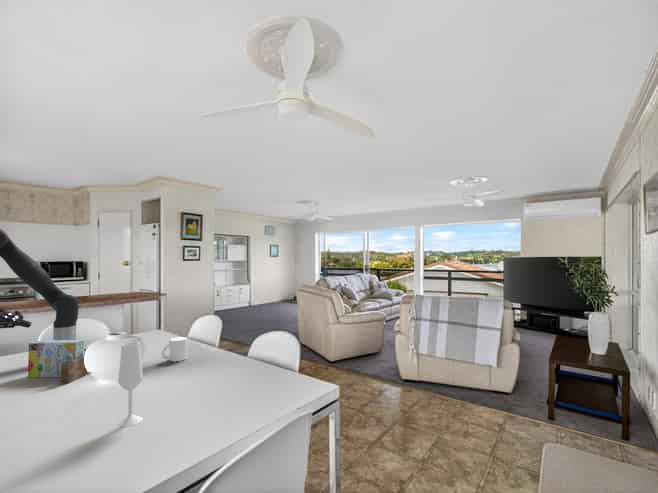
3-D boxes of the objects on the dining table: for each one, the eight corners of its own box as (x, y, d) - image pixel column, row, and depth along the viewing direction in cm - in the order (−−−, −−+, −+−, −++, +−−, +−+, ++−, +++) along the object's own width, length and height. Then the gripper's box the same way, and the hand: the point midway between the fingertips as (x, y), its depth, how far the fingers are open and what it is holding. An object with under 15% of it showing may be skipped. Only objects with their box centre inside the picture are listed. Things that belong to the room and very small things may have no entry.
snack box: (84, 373, 153) (84, 339, 153) (74, 377, 147) (74, 342, 148) (38, 373, 154) (38, 339, 154) (26, 377, 148) (27, 342, 148)
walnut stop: (87, 371, 155) (87, 347, 155) (94, 371, 155) (94, 347, 155) (60, 383, 140) (61, 356, 140) (68, 383, 140) (68, 356, 140)
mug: (189, 338, 173) (165, 343, 164) (189, 359, 172) (165, 364, 164) (182, 336, 178) (158, 340, 170) (182, 356, 178) (158, 361, 169)
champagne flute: (137, 414, 111) (137, 340, 112) (146, 420, 107) (146, 343, 108) (114, 422, 106) (114, 344, 107) (122, 428, 102) (123, 347, 103)
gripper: (-25, 312, 142) (23, 325, 147) (-3, 299, 154) (41, 311, 160) (-30, 327, 143) (18, 339, 148) (-7, 313, 155) (36, 325, 161)
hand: (30, 325), depth 154 cm, fingers closed
